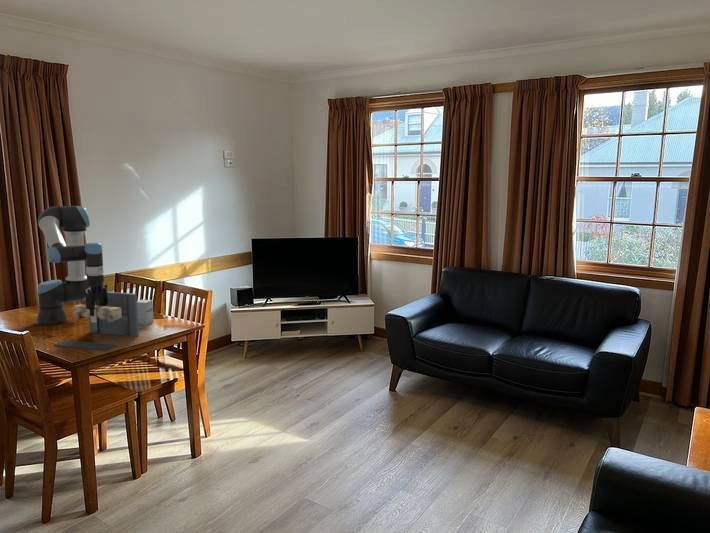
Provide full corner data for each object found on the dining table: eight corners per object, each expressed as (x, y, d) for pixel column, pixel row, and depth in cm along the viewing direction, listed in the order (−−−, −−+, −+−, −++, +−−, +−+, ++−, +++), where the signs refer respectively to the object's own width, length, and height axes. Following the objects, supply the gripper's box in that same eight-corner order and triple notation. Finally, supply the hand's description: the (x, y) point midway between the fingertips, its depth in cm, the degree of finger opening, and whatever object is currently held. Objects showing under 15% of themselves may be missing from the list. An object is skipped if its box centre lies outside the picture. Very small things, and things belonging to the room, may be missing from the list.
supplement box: (146, 325, 289) (145, 302, 287) (134, 324, 291) (133, 302, 289) (154, 321, 296) (153, 300, 294) (142, 320, 298) (141, 299, 296)
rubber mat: (53, 345, 251) (53, 344, 250) (66, 341, 258) (66, 339, 258) (104, 350, 245) (104, 349, 244) (116, 345, 252) (115, 344, 252)
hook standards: (76, 340, 260) (73, 299, 256) (96, 332, 273) (93, 293, 270) (111, 343, 255) (109, 301, 252) (130, 335, 269) (127, 295, 265)
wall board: (89, 332, 274) (87, 291, 271) (91, 331, 275) (89, 290, 272) (137, 336, 268) (134, 294, 264) (138, 335, 269) (136, 293, 266)
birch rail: (74, 315, 260) (73, 306, 259) (80, 313, 264) (79, 304, 263) (116, 319, 255) (115, 309, 254) (121, 317, 258) (121, 307, 258)
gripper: (88, 278, 246) (91, 325, 250) (114, 271, 264) (116, 316, 268) (74, 277, 248) (78, 324, 251) (101, 271, 265) (104, 315, 269)
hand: (98, 320), depth 259 cm, fingers open, 5 cm apart
